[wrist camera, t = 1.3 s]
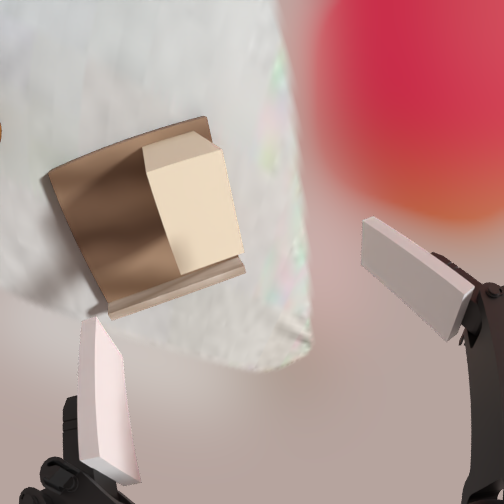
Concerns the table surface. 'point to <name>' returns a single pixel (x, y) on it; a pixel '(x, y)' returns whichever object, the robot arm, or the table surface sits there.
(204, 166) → the carton
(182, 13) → the table surface
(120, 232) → the shelf board
